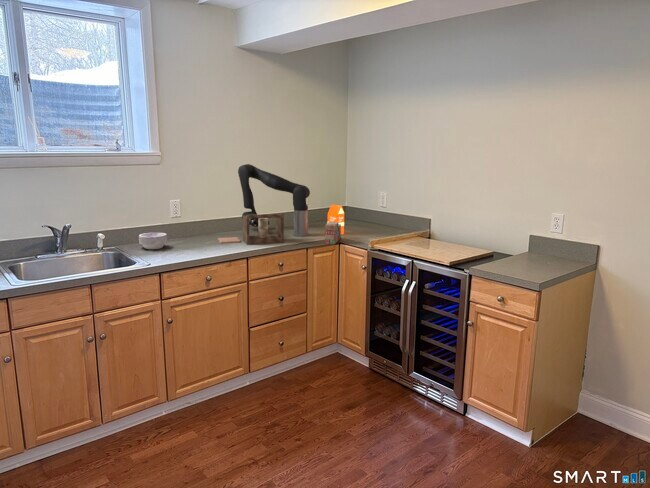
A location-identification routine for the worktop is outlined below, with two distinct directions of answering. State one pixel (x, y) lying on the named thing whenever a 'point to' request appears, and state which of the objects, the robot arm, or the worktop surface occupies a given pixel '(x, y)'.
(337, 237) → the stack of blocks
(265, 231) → the maple block
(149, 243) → the paper bowls
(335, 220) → the orange juice
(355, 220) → the worktop surface
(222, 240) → the terracotta tile
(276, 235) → the walnut bay
